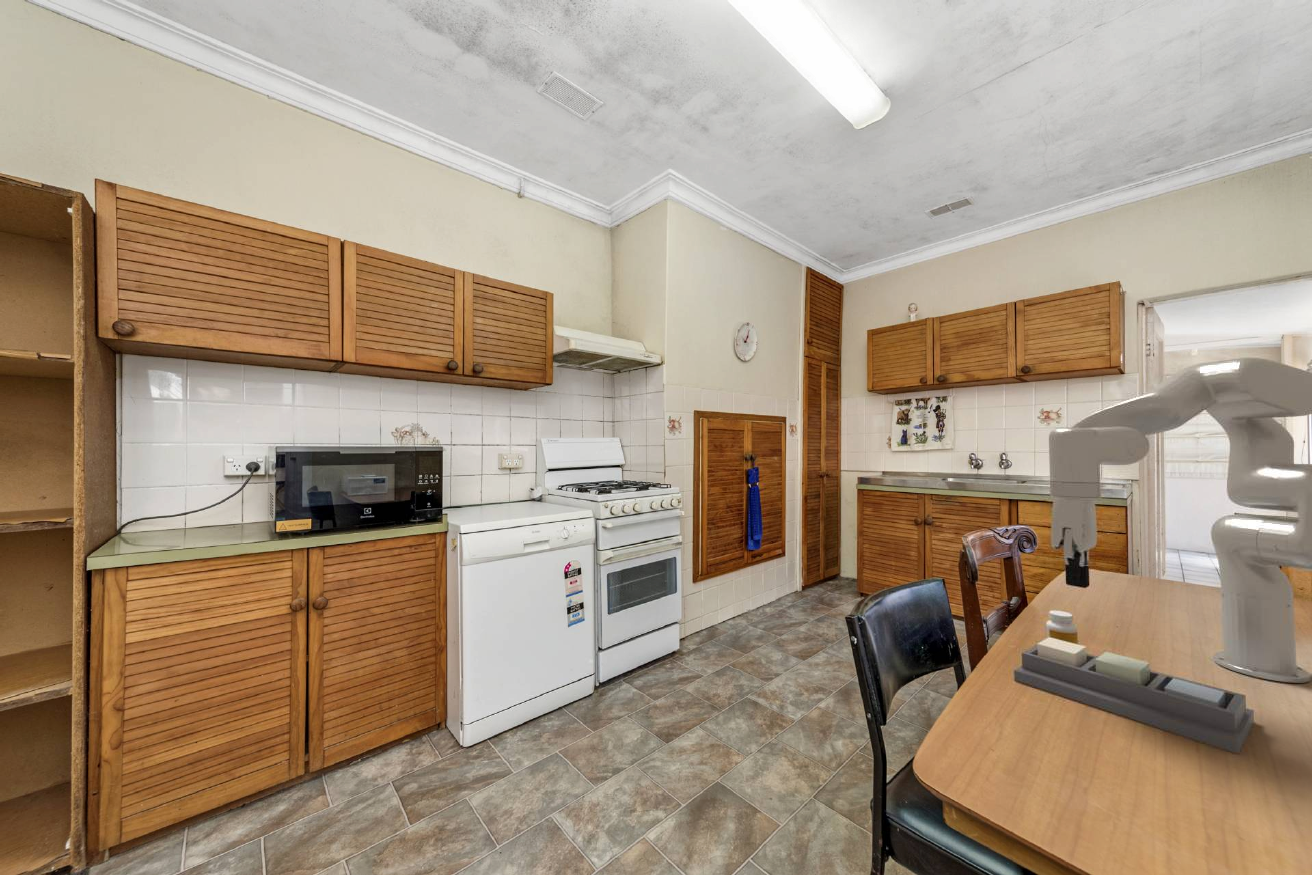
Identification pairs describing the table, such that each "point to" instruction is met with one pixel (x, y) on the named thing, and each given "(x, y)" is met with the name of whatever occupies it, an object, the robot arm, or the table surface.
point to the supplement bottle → (1061, 627)
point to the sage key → (1123, 668)
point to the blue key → (1196, 692)
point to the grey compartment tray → (1142, 700)
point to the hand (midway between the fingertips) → (1077, 585)
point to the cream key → (1062, 651)
